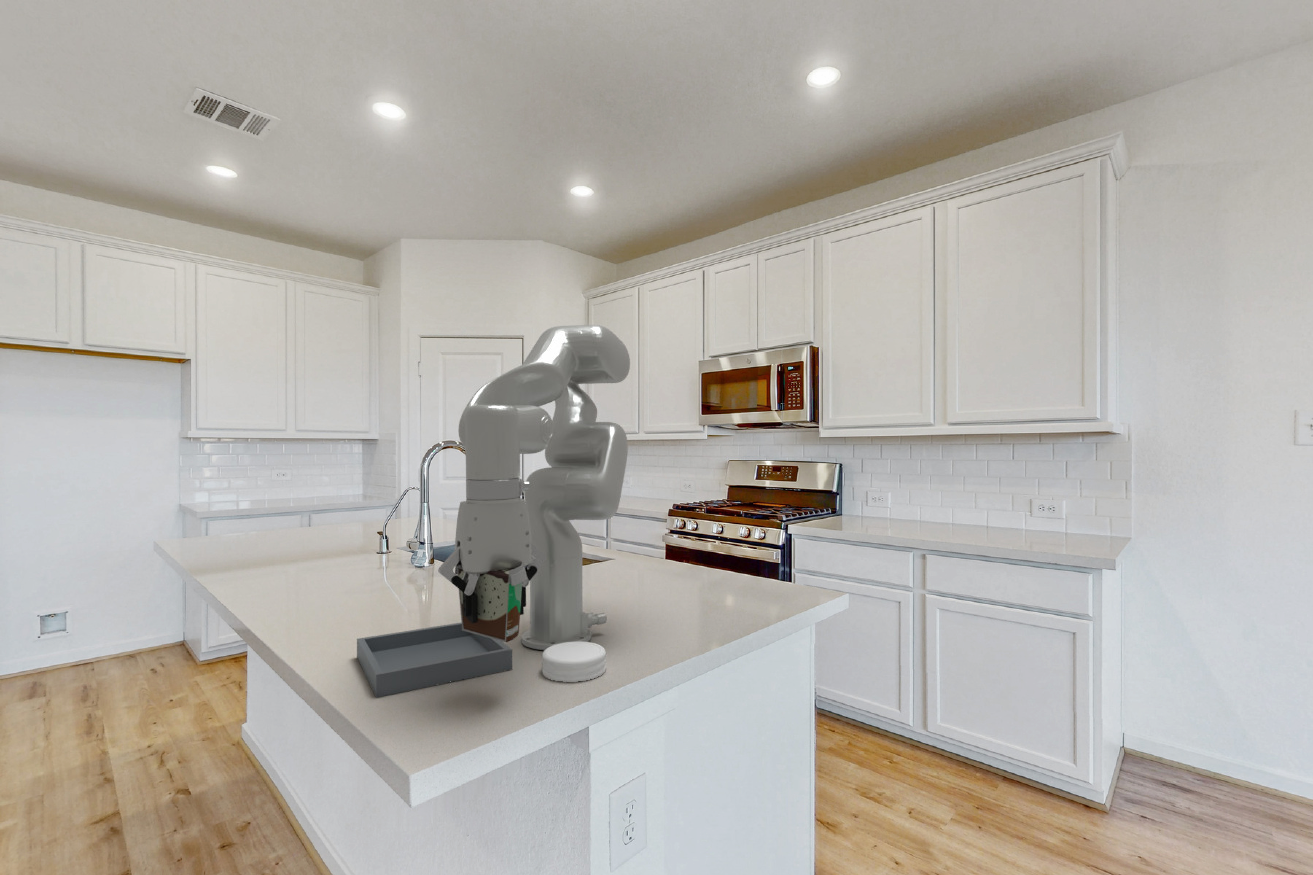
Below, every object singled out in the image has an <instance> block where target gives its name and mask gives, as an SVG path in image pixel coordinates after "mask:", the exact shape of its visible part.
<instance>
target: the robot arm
mask: <svg viewBox="0 0 1313 875" xmlns="http://www.w3.org/2000/svg"><path fill="white" fill-rule="evenodd" d="M630 365H631V358H630V353H629V351H628V348H627V346H626V345H625V343H624V342H623V341H622V340H621V339H620V338H619V337H618V336H617V335H616V334H615V333H614V332H613V331H612V330H610V328H609V329H608V328H607V327H605V326H603V325H600V324H584V325H583V324H577V325H559V326H558V325H557V326H553V327H550V328H548V329H546V330H545V331H543V332H542V333H541V335H540V336H539V337H538V339H537V341H536V342H535V344H534V345H533V347H532V348H531V350H530V352H529V354H528V355H527V356H526V358H525V359H524V361H523V363H522V364H520V365H518V366H516V367H515V368H512V369H510V370H508V371H506V372H504V373H503V374H501V375H500V376H497V377H495V378H493V379H491V380H490V381H488V382H486V383H485V384H483V385H482V386H481V387H480V388H479V389H478V390H477V391H476V392H475V393H474V394H473V396H472V397H471V399H470V400H469V402H468V403H467V404H466V406H465V408H464V409H463V411H462V414H461V415H460V419H459V423H458V437H459V440H460V443H461V445H462V446H463V447H464V449H465V495H466V498H465V501H460V502H459V507H458V512H457V518H456V519H457V520H456V527H455V529H456V530H455V538H454V539H455V540H454V541H455V543H454V550H453V551H452V553H450V555H449V556H448V557H447V558H446V559H445V560H444V562H443V563H442V564H441V565H440V566H439V567H438V569H437V570H438V571H437V572H438V573H439V574H440V575H441V576H442V577H444V578H445V579H446V580H448V581H449V582H450V583H451V584H452V585H454V587H456V588H457V589H458V590H459V589H460V590H461V591H462V592H463V615H464V616H465V617H467V619H468V620H469V621H470V622H471V623H472V624H473V623H476V622H478V601H477V595H476V594H475V592H474V588H475V586H476V583H477V580H478V578H479V575H480V574H483V573H487V572H488V571H495V570H506V569H515V568H518V567H520V566H521V564H522V562H523V566H525V571H526V575H527V579H526V580H525V581H523V582H522V592H521V607H520V616H523V615H524V614H525V610H524V608H525V607H527V587H528V586H529V618H530V619H529V629H527V630H525V631H524V632H523V633H522V634H521V644H522V645H524V646H525V647H527V648H530V649H534V650H541V651H545V650H546V649H547V648H549V647H550V646H553V645H556V644H560V643H565V642H590V640H592V639H591V638H592V631H591V629H590V628H592V626H593V625H594V626H595V625H597V626H598V625H603V624H606V623H607V622H608V619H607V615H606V613H605V612H603V613H595V614H594V612H588V613H587V612H584V611H583V603H584V602H583V543H582V539H581V536H580V534H579V532H578V531H577V530H576V528H575V527H574V526H573V524H572V522H571V521H575V520H577V521H595V520H596V521H605V520H606V521H607V520H609V519H611V518H613V517H615V514H617V511H618V509H619V506H620V502H621V498H622V497H621V495H622V491H623V483H624V479H625V475H626V474H625V473H626V468H627V462H628V455H629V454H628V451H629V450H628V449H629V447H628V446H629V445H628V437H627V434H626V431H625V429H624V428H623V427H622V426H621V425H620V424H618V423H616V422H611V421H597V418H598V409H597V406H596V404H595V403H594V401H593V400H592V398H591V397H590V396H589V394H588V393H587V392H585V391H584V390H583V389H582V388H581V387H580V385H586V384H587V385H589V384H590V385H592V384H593V385H594V384H595V385H596V384H618V383H622V382H623V381H624V380H626V378H627V377H628V375H629V373H630V370H631V369H630V368H631V366H630ZM553 402H554V404H555V405H554V406H555V408H554V413H553V417H552V416H550V414H549V412H548V411H546V410H545V409H543V407H542V406H544V405H547V404H550V403H553ZM543 451H544V458H545V460H546V462H547V464H548V465H549V466H548V467H543V468H542V467H541V468H540V469H536V470H535V471H533V472H531V473H530V474H529V475H528V477H526V478H527V479H526V480H525V481H524V480H522V477H521V455H532V454H533V455H534V454H537V453H541V452H543ZM523 492H524V493H523ZM522 493H523V495H522ZM522 496H524V498H521V497H522ZM455 566H456V567H457V568H459V569H463V571H464V572H465V573H464V576H463V578H462V579H461V578H460V577H459V576H458V575H457V574H455V571H454V568H455Z"/></svg>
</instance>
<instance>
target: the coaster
mask: <svg viewBox="0 0 1313 875" xmlns="http://www.w3.org/2000/svg"><path fill="white" fill-rule="evenodd" d="M606 654H607V652H606V649H605V648H604V647H603V646H602V645H601V644H598V643H595V642H590V641H589V642H565V643H560V644H556V645H553V646H550V647H549V648H547V649H546V650H543V652H542V654H541V658H542V662H541V666H542V668H541V673H542V675H543V676H544V677H545V678H546V679H548V680H550V679H552V680H551V681H553V680H555V681H554V682H557V681H563V682H562V683H566V682H574V683H579V682H578V681H583V682H587V681H586V680H588V681H591V680H590V679H592V680H595V679H597V678H598V676H599V677H600V676H602V675H603V674H604V673H605V671H606V668H607V664H606V662H607V658H606ZM594 678H595V679H594Z"/></svg>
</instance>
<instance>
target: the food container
mask: <svg viewBox="0 0 1313 875" xmlns="http://www.w3.org/2000/svg"><path fill="white" fill-rule="evenodd" d="M525 567H526V566H523V562H522V564H521V566H520V567H518V568H515V569H506V570H495V571H488V572H487V573H483V574H480V575H479V578H478V580H477V583H476V586H475V588H474V592H475V594H476V595H477V601H478V622H476V623H473V624H472V623H471V622H470V621H469V620H468V619H467V617H465V616H464V615H463V592H462V591H461V590H460V589H458V597H459V598H458V599H459V606H460V607H459V608H460V621H461V622H462V630H463V631H466V632H470V633H473V634H477V635H481V636H484V637H488V638H491V639H495V640H498V641H502V642H503V643H505V644H506V643H509V642H512V640H514V639H516V638H517V637H518V635H519V633H520V621H521V620H520V619H521V615H520V607H521V592H522V582H523V581H525V580H526V579H527V575H526V571H525ZM454 568H455V569H454V573H455V574H456V575H458V576H459V577H460V578H461V579H462V578H463V576H464V573H465V572H464V571H463V569H459V568H457V567H456V566H455V567H454ZM461 622H460V623H461Z"/></svg>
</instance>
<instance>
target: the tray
mask: <svg viewBox="0 0 1313 875" xmlns="http://www.w3.org/2000/svg"><path fill="white" fill-rule="evenodd" d="M356 659H357V661H358V663H359V666H360V667H361V669H362V671H363V673H364V675H365V678H366V679H367V681H368V683H369V685H370V688H371V690H372V691H373V694H374V696H375V698H380V697H386V696H390V695H395V694H400V693H405V692H410V691H415V690H419V689H424V688H423V687H425V688H430V687H434V685H435V686H438V685H437V684H440V685H444V684H443V683H445V684H447V683H446V682H449V683H451V682H450V681H454V682H458V680H459V681H463V680H462V679H464V680H468V679H473V677H474V678H477V676H479V677H484V676H488V675H492V674H491V673H493V674H497V672H498V673H502V672H501V671H503V672H505V671H504V670H508V671H511V670H510V669H512V670H513V649H512V648H511V647H510V646H508V645H507V644H506V643H505V642H502V641H498V640H495V639H491V638H488V637H484V636H481V635H477V634H473V633H470V632H466V631H463V630H462V622H456V623H450V624H449V623H448V624H443V625H442V624H441V625H436V626H429V627H424V628H417V629H412V630H411V629H410V630H404V631H398V632H392V633H386V634H378V635H374V636H367V637H359V638H356Z"/></svg>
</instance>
